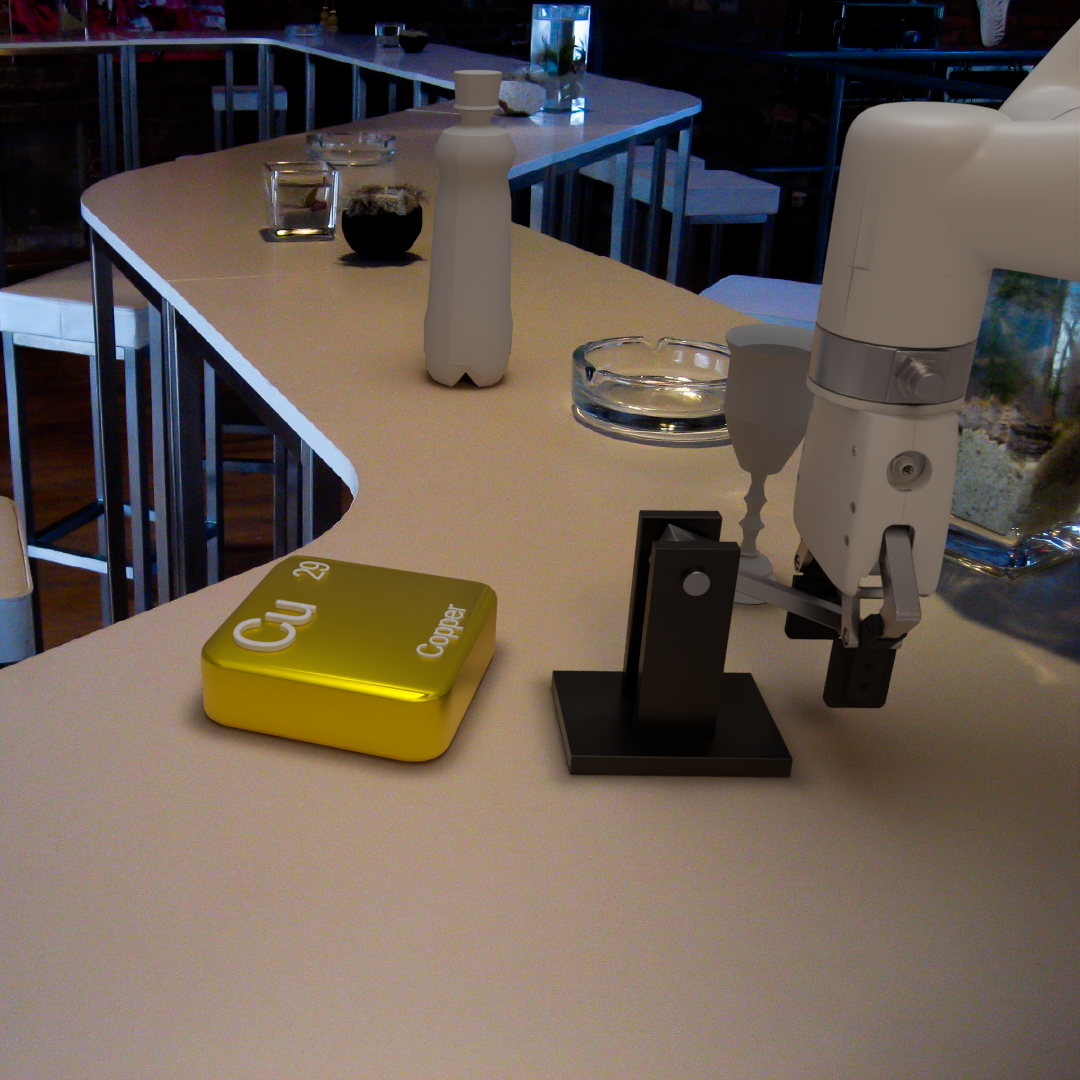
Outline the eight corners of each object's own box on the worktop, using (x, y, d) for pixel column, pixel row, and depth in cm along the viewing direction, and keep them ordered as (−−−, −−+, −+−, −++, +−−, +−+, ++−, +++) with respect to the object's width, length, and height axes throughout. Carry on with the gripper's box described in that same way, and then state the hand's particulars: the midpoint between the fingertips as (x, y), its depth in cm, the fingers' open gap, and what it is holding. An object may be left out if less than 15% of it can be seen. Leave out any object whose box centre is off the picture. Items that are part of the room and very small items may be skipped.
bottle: (510, 392, 127) (527, 77, 115) (420, 389, 128) (427, 76, 115) (509, 365, 136) (525, 68, 123) (425, 362, 136) (432, 67, 124)
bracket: (748, 689, 77) (778, 496, 71) (790, 777, 69) (827, 567, 63) (551, 686, 77) (565, 494, 72) (569, 774, 69) (587, 565, 64)
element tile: (439, 771, 69) (441, 697, 67) (191, 722, 74) (186, 651, 72) (501, 641, 82) (505, 576, 80) (287, 606, 87) (285, 543, 84)
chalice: (800, 615, 85) (844, 358, 78) (697, 607, 86) (730, 353, 79) (784, 567, 92) (824, 326, 84) (689, 560, 93) (719, 321, 85)
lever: (831, 620, 73) (853, 585, 72) (861, 667, 68) (886, 631, 67) (642, 547, 71) (662, 511, 70) (660, 590, 66) (682, 552, 65)
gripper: (1044, 424, 55) (961, 761, 63) (901, 317, 71) (848, 598, 79) (872, 422, 56) (810, 759, 63) (767, 316, 71) (727, 597, 79)
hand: (831, 667), depth 71 cm, fingers open, 6 cm apart
